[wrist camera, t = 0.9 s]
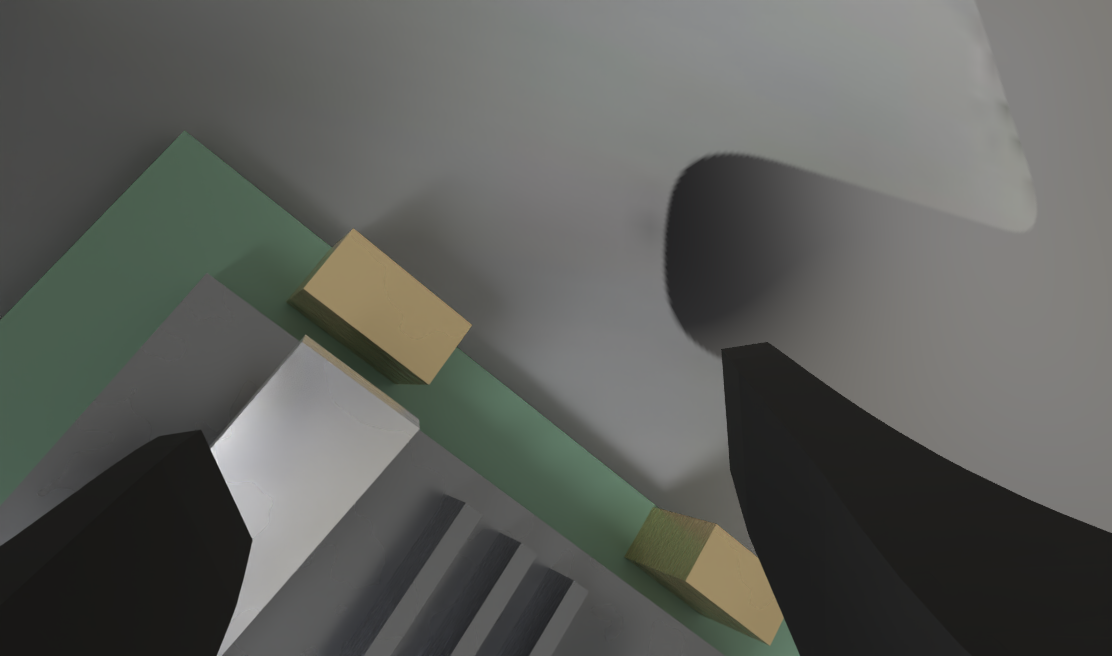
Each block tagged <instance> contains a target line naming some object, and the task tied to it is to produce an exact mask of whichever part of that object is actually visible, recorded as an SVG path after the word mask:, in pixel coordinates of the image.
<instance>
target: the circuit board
mask: <svg viewBox="0 0 1112 656" xmlns="http://www.w3.org/2000/svg"><path fill="white" fill-rule="evenodd" d="M331 248H332V247H330V246H329V245H328V244H327V243H325V242H324V241H323V240H322V239H320V238H319V237H318V236H317V235H315V234H314V233H313V232H312V231H310V230H309V229H308V228H307V227H305V226H304V225H303V224H302V223H300V222H299V221H298V220H297V219H295V218H294V217H293V216H292V215H290V214H289V213H288V212H286V211H285V210H284V209H283V208H281V207H280V206H279V205H278V204H276V203H275V202H274V201H273V200H271V199H270V198H269V197H268V196H266V195H265V194H264V193H263V192H261V191H260V190H259V189H258V188H256V187H255V186H254V185H253V184H251V183H250V182H249V181H248V180H246V179H245V178H244V177H243V176H241V175H240V174H239V173H238V172H236V171H235V170H234V169H232V168H231V167H230V166H229V165H227V164H226V163H225V162H224V161H222V160H221V159H220V158H219V157H217V156H216V155H215V154H214V153H212V152H211V151H210V150H209V149H207V148H206V147H205V146H204V145H202V144H201V143H200V142H199V141H197V140H196V139H195V138H194V137H192V136H191V135H190V134H189V133H187V132H186V131H185V130H184V131H183V133H182V134H181V135H180V136H179V137H178V138H177V139H176V140H175V141H174V142H173V143H172V144H171V145H170V146H169V147H168V148H167V149H166V150H165V151H164V152H163V153H162V154H161V155H160V156H159V157H158V158H157V159H156V160H155V161H154V162H153V163H152V164H151V165H150V166H149V168H148V169H147V170H146V171H145V172H144V173H143V174H142V175H141V176H140V177H139V178H138V179H137V180H136V181H135V182H134V183H133V184H132V185H131V186H130V187H129V188H128V189H127V190H126V191H125V192H124V193H123V194H122V195H121V196H120V197H119V198H118V199H117V200H116V201H115V203H114V204H113V205H112V206H111V207H110V208H109V209H108V210H107V211H106V212H105V213H104V214H103V215H102V216H101V217H100V218H99V219H98V220H97V221H96V222H95V223H94V224H93V225H92V226H91V227H90V228H89V229H88V230H87V231H86V232H85V233H84V234H83V235H82V236H81V237H80V239H79V240H78V241H77V242H76V243H75V244H74V245H73V246H72V247H71V248H70V249H69V250H68V251H67V252H66V253H65V254H64V255H63V256H62V257H61V258H60V259H59V260H58V261H57V262H56V263H55V264H54V265H53V266H52V267H51V268H50V269H49V270H48V271H47V272H46V274H45V275H44V276H43V277H42V278H41V279H40V280H39V281H38V282H37V283H36V284H35V285H34V286H33V287H32V288H31V289H30V290H29V291H28V292H27V293H26V294H25V295H24V296H23V297H22V298H21V299H20V300H19V301H18V302H17V303H16V304H15V305H14V306H13V307H12V309H11V310H10V311H9V312H8V313H7V314H6V315H5V316H4V317H3V318H2V319H1V320H0V506H1V504H2V503H3V502H4V501H5V500H6V499H7V498H8V497H9V495H10V494H11V493H12V492H13V491H14V490H15V489H16V488H17V486H18V485H19V484H20V483H21V482H22V481H23V480H24V479H25V477H26V476H27V475H28V474H29V473H30V472H31V471H32V470H33V468H34V467H35V466H36V465H37V464H38V463H39V462H40V460H41V459H42V458H43V457H44V456H45V455H46V454H47V453H48V451H49V450H50V449H51V448H52V447H53V446H54V445H55V444H56V442H57V441H58V440H59V439H60V438H61V437H62V436H63V435H64V433H65V432H66V431H67V430H68V429H69V428H70V427H71V426H72V424H73V423H74V422H75V421H76V420H77V419H78V418H79V416H80V415H81V414H82V413H83V412H84V411H85V410H86V409H87V407H88V406H89V405H90V404H91V403H92V402H93V401H94V400H95V398H96V397H97V396H98V395H99V394H100V393H101V392H102V391H103V389H104V388H105V387H106V386H107V385H108V384H109V383H110V382H111V380H112V379H113V378H114V377H115V376H116V375H117V374H118V372H119V371H120V370H121V369H122V368H123V367H124V366H125V365H126V363H127V362H128V361H129V360H130V359H131V358H132V357H133V356H134V354H135V353H136V352H137V351H138V350H139V349H140V348H141V347H142V345H143V344H144V343H145V342H146V341H147V340H148V339H149V338H150V336H151V335H152V334H153V333H154V332H155V331H156V330H157V329H158V327H159V326H160V325H161V324H162V323H163V322H164V321H165V319H166V318H167V317H168V316H169V315H170V314H171V313H172V312H173V310H174V309H175V308H176V307H177V306H178V305H179V304H180V303H181V301H182V300H183V299H184V298H185V297H186V296H187V295H188V294H189V292H190V291H191V290H192V289H193V288H194V287H195V286H196V285H197V283H198V282H199V281H200V280H201V279H202V278H203V277H204V275H205V274H206V273H208V274H209V275H210V276H212V277H213V278H215V279H216V280H217V281H219V282H220V283H221V284H223V285H224V286H225V287H227V288H228V289H229V290H231V291H232V292H234V293H235V294H236V295H238V296H239V297H240V298H242V299H243V300H244V301H246V302H247V303H248V304H250V305H251V306H252V307H254V308H255V309H257V310H258V311H259V312H261V313H262V314H263V315H265V316H266V317H267V318H269V319H270V320H271V321H273V322H274V323H275V324H277V325H278V326H280V327H281V328H282V329H284V330H285V331H286V332H288V333H289V334H290V335H292V336H293V337H294V338H296V339H297V340H298V341H300V340H301V339H302V338H303V337H304V336H305V335H307V336H308V337H309V338H311V339H312V340H313V341H315V342H316V343H318V344H319V345H320V346H322V347H323V348H324V349H326V350H327V351H328V352H330V353H331V354H332V355H334V356H335V357H336V358H338V359H339V360H340V361H342V362H343V363H344V364H346V365H347V366H348V367H350V368H351V369H352V370H354V371H355V372H356V373H358V374H359V375H361V376H362V377H363V378H365V379H366V380H367V381H369V382H370V383H371V384H373V385H374V386H375V387H377V388H378V389H379V390H381V391H382V392H383V393H385V394H386V395H387V396H389V397H390V398H391V399H393V400H394V401H395V402H397V403H398V404H399V405H401V406H402V407H404V408H405V409H406V410H408V411H409V412H410V413H412V414H413V415H414V416H416V417H417V418H418V419H419V426H420V429H419V430H420V431H422V432H423V433H424V434H426V435H427V436H428V437H430V438H431V439H432V440H434V441H435V442H437V443H438V444H439V445H441V446H442V447H443V448H445V449H446V450H447V451H449V452H450V453H451V454H453V455H454V456H455V457H457V458H458V459H460V460H461V461H462V462H464V463H465V464H466V465H468V466H469V467H470V468H472V469H473V470H474V471H476V472H477V473H478V474H480V475H481V476H483V477H484V478H485V479H487V480H488V481H489V482H491V483H492V484H493V485H495V486H496V487H497V488H499V489H500V490H501V491H503V492H504V493H506V494H507V495H508V496H510V497H511V498H512V499H514V500H515V501H516V502H518V503H519V504H520V505H522V506H523V507H525V508H526V509H527V510H529V511H530V512H531V513H533V514H534V515H535V516H537V517H538V518H539V519H541V520H542V521H543V522H545V523H546V524H548V525H549V526H550V527H552V528H553V529H554V530H556V531H557V532H558V533H560V534H561V535H562V536H564V537H565V538H566V539H568V540H569V541H571V542H572V543H573V544H575V545H576V546H577V547H579V548H580V549H581V550H583V551H584V552H585V553H587V554H588V555H589V556H591V557H592V558H594V559H595V560H596V561H598V562H599V563H600V564H602V565H603V566H604V567H606V568H607V569H608V570H610V571H611V572H612V573H614V574H615V575H617V576H618V577H619V578H621V579H622V580H623V581H625V582H626V583H627V584H629V585H630V586H631V587H633V588H634V589H635V590H637V591H638V592H640V593H641V594H642V595H644V596H645V597H646V598H648V599H649V600H650V601H652V602H653V603H654V604H656V605H657V606H658V607H660V608H661V609H663V610H664V611H665V612H667V613H668V614H669V615H671V616H672V617H673V618H675V619H676V620H677V621H679V622H680V623H682V624H683V625H684V626H686V627H687V628H688V629H690V630H691V631H692V632H694V633H695V634H696V635H698V636H699V637H700V638H702V639H703V640H705V641H706V642H707V643H709V644H710V645H711V646H713V647H714V648H715V649H717V650H718V651H719V652H721V653H722V654H723V655H725V656H800V655H799V652H798V650H797V648H796V645H795V643H794V641H793V638H792V636H791V633H790V631H789V629H788V626H787V624H786V622H785V619H784V618H783V621H782V623H781V625H780V627H779V629H778V631H777V633H776V635H775V637H774V639H773V641H772V643H771V645H770V646H769V645H767V644H765V643H763V642H760V641H758V640H756V639H754V638H751V637H749V636H747V635H745V634H743V633H740V632H738V631H736V630H734V629H732V628H729V627H727V626H725V625H723V624H720V623H718V622H716V621H714V620H712V619H709V618H707V617H705V616H703V615H701V614H700V613H698V612H697V611H696V610H694V609H693V608H692V607H690V606H689V605H688V604H686V603H685V602H684V601H682V600H681V599H680V598H678V597H677V596H676V595H674V594H673V593H672V592H670V591H669V590H668V589H666V588H665V587H664V586H662V585H661V584H660V583H659V582H657V581H656V580H655V579H653V578H652V577H651V576H649V575H648V574H647V573H645V572H644V571H643V570H641V569H640V568H639V567H637V566H636V565H635V564H633V563H632V562H631V561H629V560H628V559H627V558H625V555H626V553H627V551H628V550H629V548H630V546H631V544H632V543H633V541H634V539H635V537H636V536H637V534H638V532H639V531H640V529H641V527H642V525H643V524H644V522H645V520H646V518H647V517H648V515H649V513H650V512H651V510H652V508H653V507H655V508H658V507H657V506H656V505H654V504H653V503H652V502H651V501H649V500H648V499H647V498H646V497H644V496H643V495H642V494H641V493H639V492H638V491H637V490H636V489H634V488H633V487H632V486H631V485H629V484H628V483H627V482H626V481H624V480H623V479H622V478H621V477H619V476H618V475H617V474H616V473H614V472H613V471H612V470H611V469H609V468H608V467H607V466H605V465H604V464H603V463H602V462H600V461H599V460H598V459H597V458H595V457H594V456H593V455H592V454H590V453H589V452H588V451H587V450H585V449H584V448H583V447H582V446H580V445H579V444H578V443H577V442H575V441H574V440H573V439H572V438H570V437H569V436H568V435H567V434H565V433H564V432H563V431H562V430H560V429H559V428H558V427H557V426H555V425H554V424H553V423H551V422H550V421H549V420H548V419H546V418H545V417H544V416H543V415H541V414H540V413H539V412H538V411H536V410H535V409H534V408H533V407H531V406H530V405H529V404H528V403H526V402H525V401H524V400H523V399H521V398H520V397H519V396H518V395H516V394H515V393H514V392H513V391H511V390H510V389H509V388H508V387H506V386H505V385H504V384H503V383H501V382H500V381H499V380H497V379H496V378H495V377H494V376H492V375H491V374H490V373H489V372H487V371H486V370H485V369H484V368H482V367H481V366H480V365H479V364H477V363H476V362H475V361H474V360H472V359H471V358H470V357H469V356H467V355H466V354H465V353H464V352H462V351H461V350H460V349H459V348H457V347H456V348H455V350H454V351H453V352H452V354H451V355H450V357H449V358H448V359H447V361H446V362H445V363H444V365H443V366H442V368H441V369H440V370H439V372H438V373H437V374H436V376H435V377H434V379H433V380H432V381H431V383H430V384H429V385H409V384H394V383H393V382H392V381H390V380H389V379H388V378H386V377H385V376H384V375H382V374H381V373H380V372H378V371H377V370H376V369H374V368H373V367H372V366H370V365H369V364H368V363H366V362H365V361H364V360H362V359H361V358H360V357H358V356H357V355H356V354H354V353H353V352H352V351H350V350H349V349H348V348H346V347H345V346H344V345H342V344H341V343H340V342H338V341H337V340H336V339H334V338H333V337H332V336H330V335H329V334H328V333H326V332H325V331H324V330H322V329H321V328H320V327H318V326H317V325H316V324H314V323H313V322H312V321H310V320H309V319H308V318H306V317H305V316H304V315H303V314H301V313H300V312H299V311H297V310H296V309H295V308H293V307H292V306H291V305H289V304H288V303H287V302H286V301H287V300H288V299H289V298H290V296H291V295H292V294H293V293H294V292H295V290H296V289H297V288H298V287H299V286H300V284H301V283H302V282H303V281H304V280H305V278H306V277H307V276H308V275H309V274H310V272H311V271H312V270H313V269H314V268H315V266H316V265H317V264H318V263H319V262H320V260H321V259H322V258H323V257H324V256H325V254H326V253H327V252H328V251H329V250H330V249H331Z"/></svg>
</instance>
